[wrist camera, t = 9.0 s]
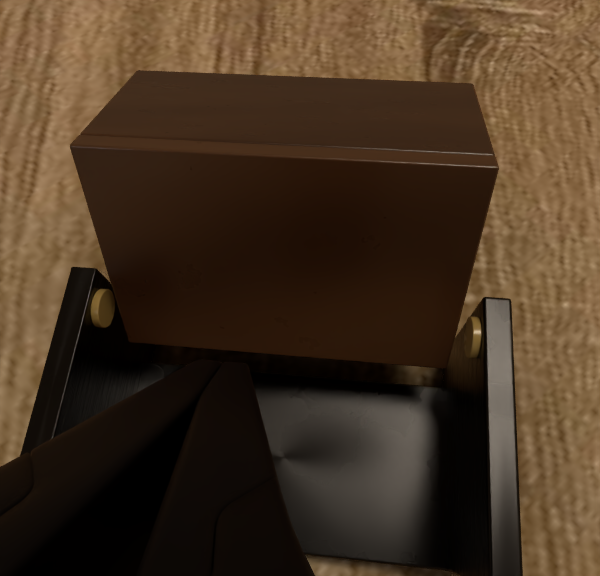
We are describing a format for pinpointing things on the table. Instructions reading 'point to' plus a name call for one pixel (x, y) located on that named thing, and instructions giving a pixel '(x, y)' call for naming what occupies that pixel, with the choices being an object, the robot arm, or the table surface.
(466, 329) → the bin frame
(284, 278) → the bin
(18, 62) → the table surface
